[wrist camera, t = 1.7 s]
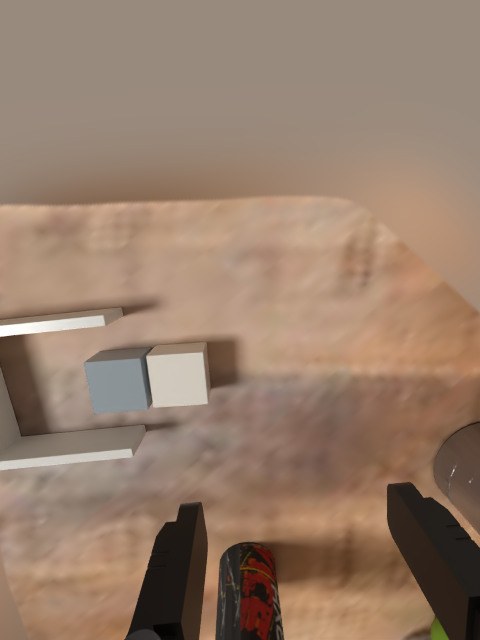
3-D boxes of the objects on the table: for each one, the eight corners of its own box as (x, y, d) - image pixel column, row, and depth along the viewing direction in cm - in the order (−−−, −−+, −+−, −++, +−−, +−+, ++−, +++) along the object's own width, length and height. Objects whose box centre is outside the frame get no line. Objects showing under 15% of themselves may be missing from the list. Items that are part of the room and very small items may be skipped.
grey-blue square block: (150, 346, 26) (139, 358, 23) (157, 393, 27) (147, 409, 24) (101, 350, 26) (83, 362, 23) (109, 396, 27) (94, 413, 24)
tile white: (206, 341, 26) (202, 352, 23) (211, 387, 27) (207, 403, 24) (156, 344, 26) (146, 356, 23) (162, 390, 27) (153, 407, 24)
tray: (121, 307, 25) (103, 315, 21) (146, 431, 27) (132, 457, 24) (-23, 322, 25) (-64, 332, 21) (15, 444, 28) (-16, 471, 24)
